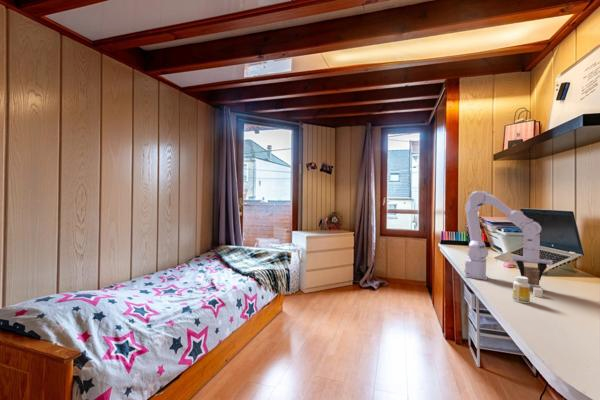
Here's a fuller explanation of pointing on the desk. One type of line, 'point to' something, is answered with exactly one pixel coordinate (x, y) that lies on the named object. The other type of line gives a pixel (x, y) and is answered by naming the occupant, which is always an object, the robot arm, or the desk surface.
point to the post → (535, 287)
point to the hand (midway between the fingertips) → (530, 278)
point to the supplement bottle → (521, 290)
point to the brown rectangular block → (532, 275)
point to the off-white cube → (537, 292)
